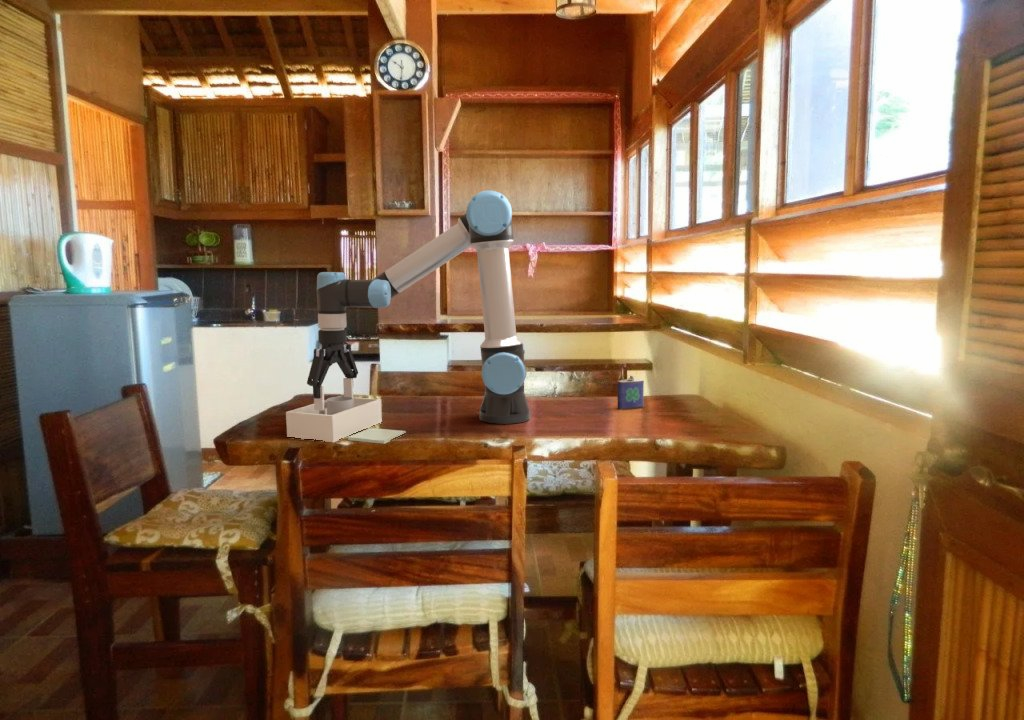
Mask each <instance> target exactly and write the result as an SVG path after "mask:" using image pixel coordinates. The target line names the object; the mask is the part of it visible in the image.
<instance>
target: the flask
mask: <svg viewBox="0 0 1024 720" xmlns="http://www.w3.org/2000/svg"><path fill="white" fill-rule="evenodd" d="M635 377H636V376H634V375H633V374H631V375H629V377H628V378H626V379H621V380H618V381H617V410H618V411H619V410H620V411H625V410H634V409H635V410H636V409H637V410H638V409H642V408H644V394H645V393H644V392H645V390H644V380H643V379H635Z"/></svg>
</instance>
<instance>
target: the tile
mask: <svg viewBox="0 0 1024 720" xmlns="http://www.w3.org/2000/svg"><path fill="white" fill-rule="evenodd" d="M404 433H406V434H407V432H406V430H397V429H388V428H387V429H385V428H377V427H376V428H375V427H371V428H368V429H366V430H363V431H361V432H358V433H356V434H353V435H351V436H348V437H347V441H353V442H361V443H362V442H364V443H374V444H383V445H385V444H387V443H389V442H391V441H390V440H391V439H393V438H395V437H398V436H400V435H402V434H404ZM400 437H401V436H400ZM398 438H399V437H398Z"/></svg>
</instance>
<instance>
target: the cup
mask: <svg viewBox="0 0 1024 720" xmlns="http://www.w3.org/2000/svg"><path fill="white" fill-rule="evenodd" d="M339 396H340V397H337V396H332V397H328V398H327V399H326V400H327V402H324V410H323V411H321V410H319V414H324V415H325V408H326V407H327V415H333V414H336V413H339V412H342V411H345V410H348V409H351V408H354V402H353V397H354V396H353V397H347V396H344V395H343V396H342V395H339Z"/></svg>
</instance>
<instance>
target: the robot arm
mask: <svg viewBox="0 0 1024 720" xmlns="http://www.w3.org/2000/svg"><path fill="white" fill-rule="evenodd" d="M512 218H513V210H512V205H511V203H510V201H509V200H508V198H507V197H506V196H505V195H504V194H503V193H501V192H499V191H497V190H496V191H495V190H483V191H480V192H478V193H476V194H475V195H473V197H472V198H471V199H470V200H469V202H468V204H467V206H466V210H465V213H464V214H462V216H460V217H458V218H457V223H455V225H453V226H451V227H450V228H448V229H447V230H445V231H444V232H442V233H440V234H439V235H437V237H436V236H435V238H433V239H431V240H430V241H428V242H426V243H425V244H424V245H422V246H421V247H419V248H418V249H417V250H415V251H413V252H412V253H410V254H409V255H407V256H406V257H404V258H403V259H402V260H400V261H398V262H396V263H395V264H393V266H391V267H389V268H387V269H386V270H385V271H383V272H381V273H380V274H378V275H377V276H375V277H373V278H372V279H348V278H347V277H346V274H345V273H344V272H342V271H341V272H340V271H337V272H336V271H322V272H319V273H318V274H317V276H316V289H315V290H316V300H317V302H316V303H317V325H318V326H317V327H318V328H319V330H318V331H317V332H318V333H317V334H318V335H317V337H318V338H317V339H318V344H320V345H321V348H314V349H313V357H312V358H313V359H312V361H311V366H310V370H309V373H308V376H307V381H306V384H307V385H308V386H310V387H312V392H313V393H312V396H313V404H314V410H321V411H323V410H324V400H325V386H324V385H322V384H323V382H324V380H325V378H326V377H327V376H326V375H327V373H328V371H329V369H330V367H331V366H332V365H333V364H335V363H336V364H337V365H338V367H339V369H340V371H341V372H342V373H343V375H344V378H343V385H342V386H343V396H347V397H354V379H356V378H357V376H358V375H359V370H358V367H357V364H356V362H355V358H354V356H353V352H352V345H351V344H349V343H347V340H348V337H347V336H348V334H347V331H348V330H346V329H345V328H347V326H348V325H347V308H368V309H369V308H370V309H371V308H374V309H380V308H388V307H389V306H390V304H391V299H393V298H394V297H396V296H397V295H399V294H400V293H401V292H403V291H405V290H406V289H408V288H409V287H411V286H413V285H414V284H416V283H417V282H419V281H421V279H424V278H425V277H427V276H428V275H429V274H431V273H433V272H434V271H436V270H437V269H438V268H440V267H442V266H443V265H445V264H447V263H448V262H449V261H451V260H452V259H454V258H455V257H457V256H459V255H460V254H462V253H464V252H465V251H466V250H468V249H469V248H471V247H472V248H473V249H475V251H476V254H477V255H476V257H477V267H478V277H479V288H480V297H481V298H480V299H481V310H482V319H483V327H484V328H483V329H484V330H483V331H484V340H483V341H482V343H481V344H480V356H481V374H480V375H481V379H482V381H483V383H484V395H483V398H482V402H481V406H480V409H479V415H478V416H479V417H478V418H479V420H480V421H482V422H485V423H488V424H498V425H499V424H502V425H503V424H504V425H505V424H506V425H509V424H518V423H519V424H520V423H524V422H527V421H529V420H530V419H531V409H530V406H529V403H528V400H527V398H526V394H525V379H526V377H527V376H526V375H527V369H526V366H525V353H526V351H525V346H524V345H525V344H524V343H523V341H522V340H521V339H520V338H519V337H518V336H517V328H516V316H515V305H514V293H513V291H514V290H513V283H512V282H513V281H512V271H511V270H512V269H511V260H510V250H509V249H510V247H511V245H512V244H513V243H514V241H515V240H514V239H515V238H514V228H513V219H512Z"/></svg>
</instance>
